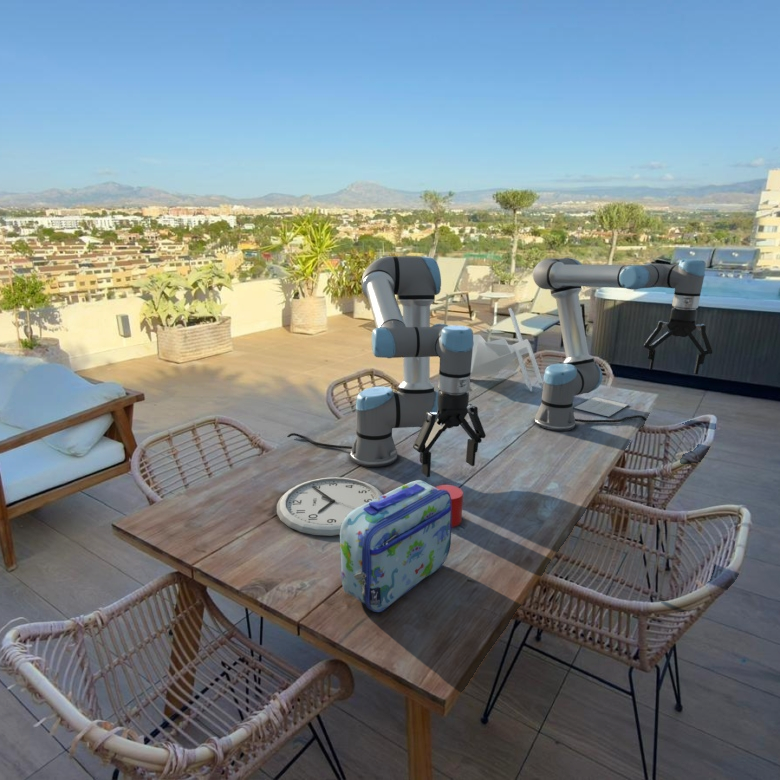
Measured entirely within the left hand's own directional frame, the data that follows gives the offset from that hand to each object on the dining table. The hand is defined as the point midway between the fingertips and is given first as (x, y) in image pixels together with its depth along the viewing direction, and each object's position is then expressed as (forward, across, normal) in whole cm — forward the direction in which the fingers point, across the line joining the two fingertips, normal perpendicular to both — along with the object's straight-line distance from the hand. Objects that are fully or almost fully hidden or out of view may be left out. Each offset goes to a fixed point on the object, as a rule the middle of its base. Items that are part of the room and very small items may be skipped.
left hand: (448, 469), depth 133 cm
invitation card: (+17, +111, +45) cm, 121 cm away
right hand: (-13, +95, +6) cm, 96 cm away
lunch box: (+14, -24, -18) cm, 33 cm away
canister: (+14, 0, -1) cm, 14 cm away
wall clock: (+14, -24, +19) cm, 34 cm away
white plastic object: (+18, +90, +90) cm, 129 cm away
